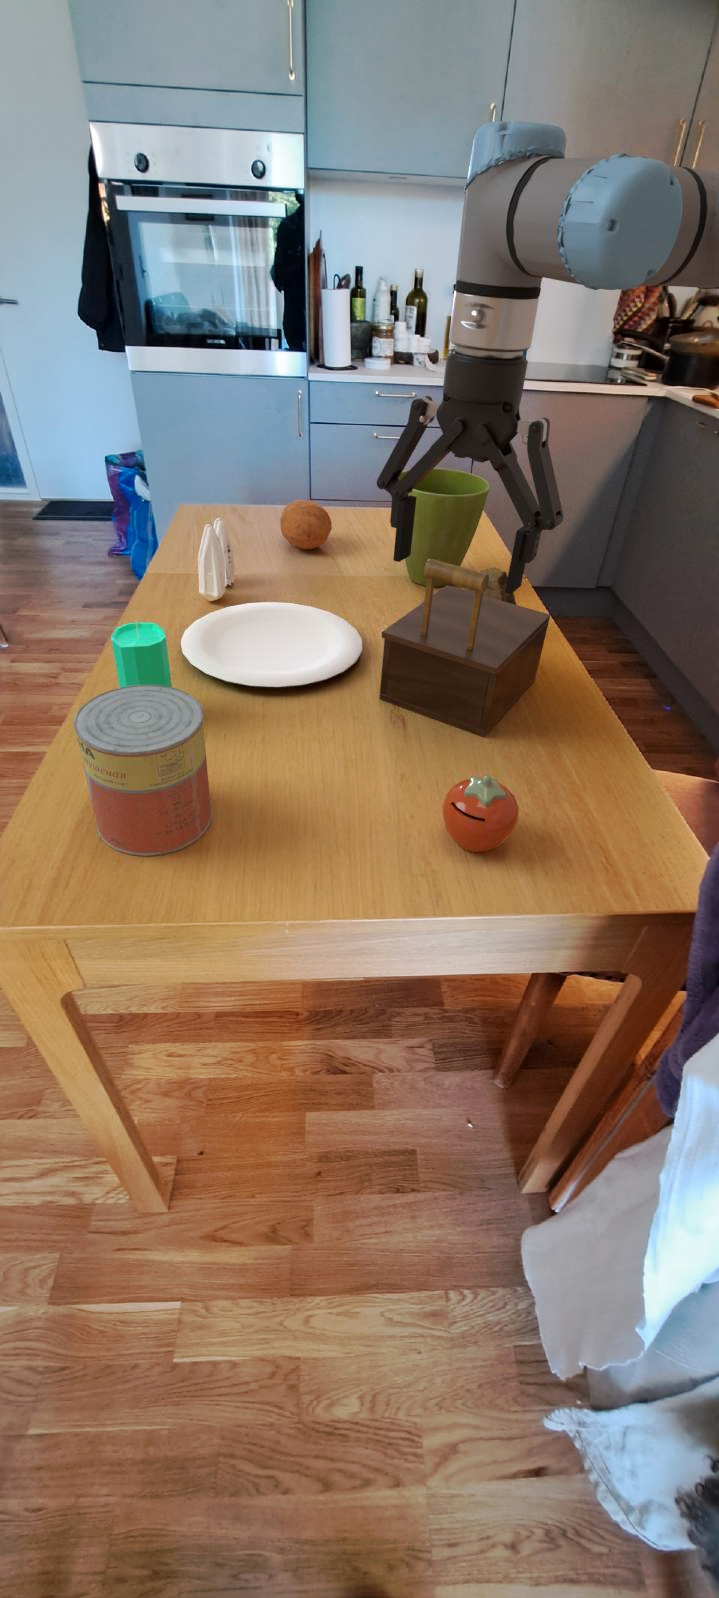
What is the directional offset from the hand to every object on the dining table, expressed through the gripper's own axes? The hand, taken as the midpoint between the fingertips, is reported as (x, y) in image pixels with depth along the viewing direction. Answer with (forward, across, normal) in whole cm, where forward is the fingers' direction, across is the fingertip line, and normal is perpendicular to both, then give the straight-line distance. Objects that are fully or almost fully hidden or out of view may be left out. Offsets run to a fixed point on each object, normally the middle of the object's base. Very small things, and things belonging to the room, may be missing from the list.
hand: (455, 573), depth 81 cm
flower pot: (+18, -20, +38) cm, 47 cm away
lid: (+9, 0, +6) cm, 11 cm away
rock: (+18, -6, +27) cm, 33 cm away
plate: (+18, -26, +1) cm, 32 cm away
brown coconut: (+18, -45, +36) cm, 61 cm away
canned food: (+18, -14, -35) cm, 42 cm away
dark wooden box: (+18, 0, +7) cm, 19 cm away
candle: (+18, -28, -21) cm, 40 cm away
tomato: (+18, +14, -19) cm, 30 cm away
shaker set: (+18, -44, +11) cm, 49 cm away
